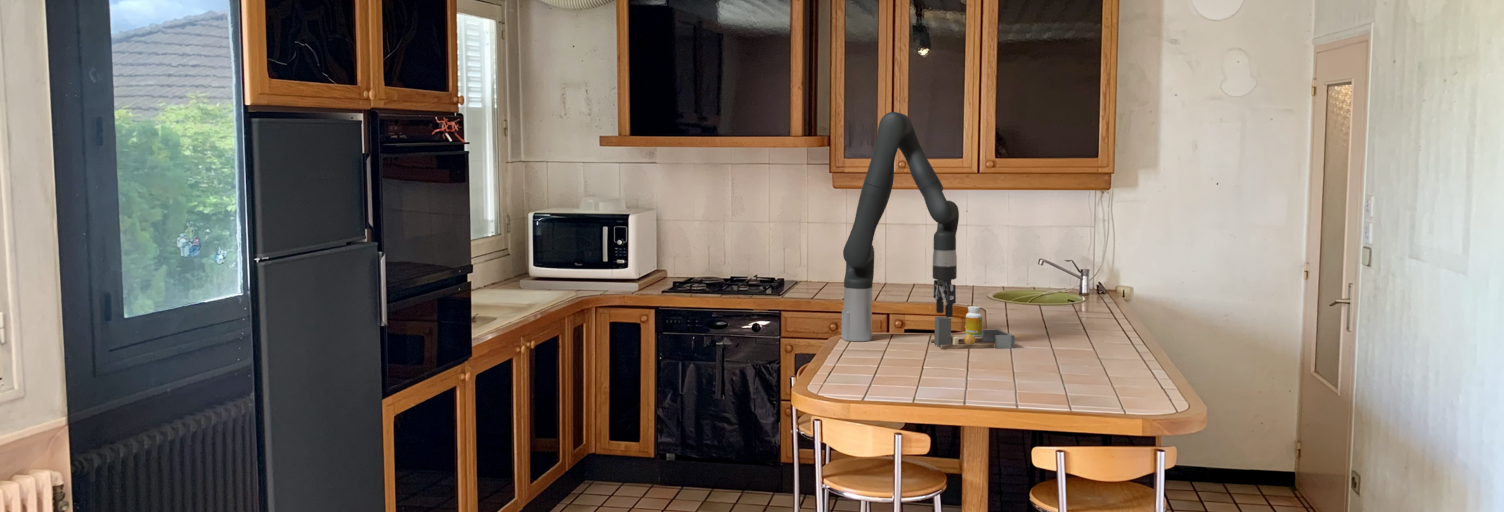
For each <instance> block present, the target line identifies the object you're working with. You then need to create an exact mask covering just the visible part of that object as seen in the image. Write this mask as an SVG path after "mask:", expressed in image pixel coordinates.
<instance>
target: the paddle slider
mask: <svg viewBox="0 0 1504 512" xmlns="http://www.w3.org/2000/svg"><path fill="white" fill-rule="evenodd" d="M934 339H935V340H934V344H935V345H934V344H933V345H934V346H936V345H937V346H936V347H938V346H940V345H956V344H959V343H958V339H959V337H957V336H955V335H954V334H952V317H946V316H934Z"/></svg>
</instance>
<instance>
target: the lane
mask: <svg viewBox="0 0 1504 512" xmlns="http://www.w3.org/2000/svg"><path fill="white" fill-rule="evenodd" d="M934 340H935V338H933V339H931V338H930V340H929V342H931V343H934ZM931 343H930V344H931ZM940 348H941V349H940ZM939 349H940V350H962V349H963V350H965V349H966V350H971V349H976V350H977V349H995V343H984V342H983V339H982V337H981V338H980V337H977V338H976V337H975V343H974V344H965V342H964V338H958V344H956V345H940V347H939Z"/></svg>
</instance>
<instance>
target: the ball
mask: <svg viewBox="0 0 1504 512" xmlns="http://www.w3.org/2000/svg"><path fill="white" fill-rule="evenodd" d="M975 338H976V337H974V336H973V335H971V334H968V335H965V336H964V337H963V339H964V342H965V343H964V344H976V343H975Z"/></svg>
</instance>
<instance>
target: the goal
mask: <svg viewBox="0 0 1504 512" xmlns="http://www.w3.org/2000/svg"><path fill="white" fill-rule="evenodd" d="M981 338H982V339H983V343H994V344H995V345H994V349H996V350H997V349H999V350H1000V349H1015V343H1016V335H1014V334H1012V333H1010V332H1007V331H1004V330H1002V329H1000V328H992V329H991V328H990V329H989V328H988V329H987V328H982V335H981Z"/></svg>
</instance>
